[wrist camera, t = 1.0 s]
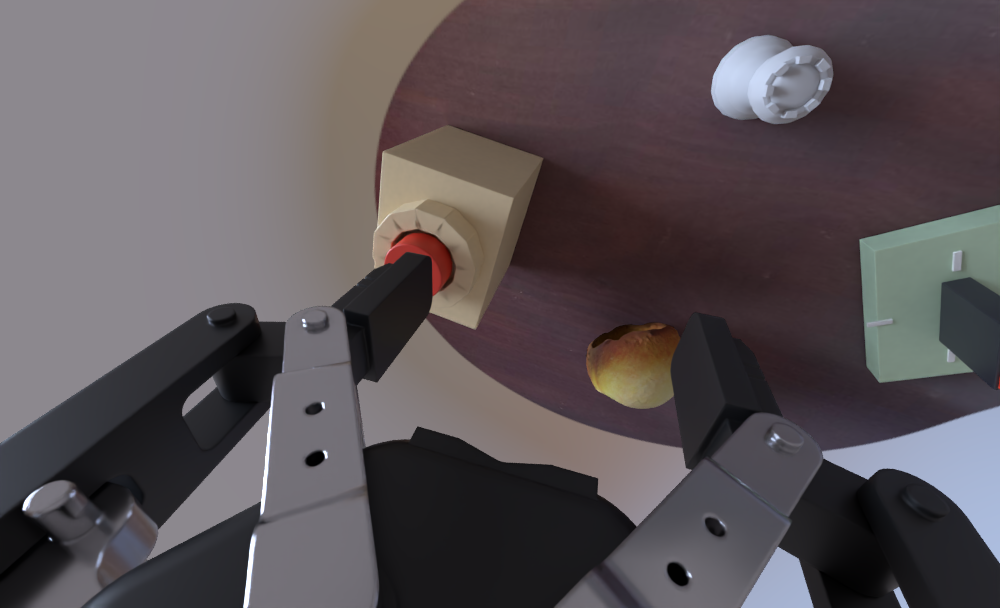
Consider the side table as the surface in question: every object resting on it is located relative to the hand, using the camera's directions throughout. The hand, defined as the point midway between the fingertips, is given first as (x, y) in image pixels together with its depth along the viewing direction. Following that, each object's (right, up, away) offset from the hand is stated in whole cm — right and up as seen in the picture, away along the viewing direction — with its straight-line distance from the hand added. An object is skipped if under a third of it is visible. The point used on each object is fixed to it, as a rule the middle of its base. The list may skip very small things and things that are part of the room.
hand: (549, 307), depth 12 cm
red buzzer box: (-3, +9, +21) cm, 23 cm away
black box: (+29, 0, +14) cm, 33 cm away
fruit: (+11, -2, +24) cm, 27 cm away
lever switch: (+30, +1, +16) cm, 34 cm away
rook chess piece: (+14, +14, +12) cm, 23 cm away
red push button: (-6, +3, +11) cm, 13 cm away
